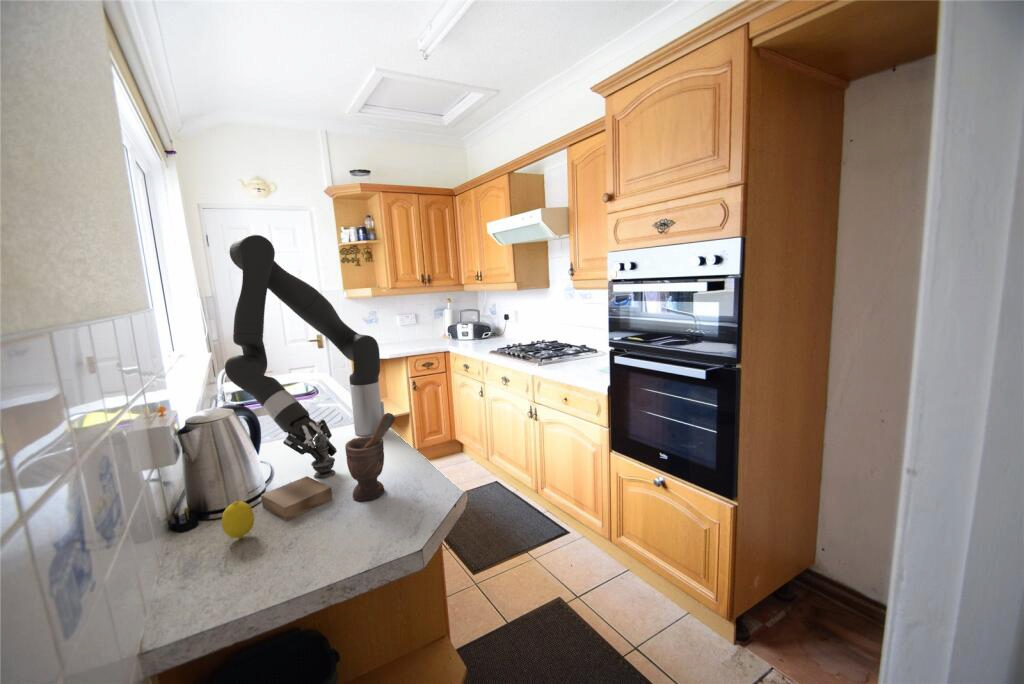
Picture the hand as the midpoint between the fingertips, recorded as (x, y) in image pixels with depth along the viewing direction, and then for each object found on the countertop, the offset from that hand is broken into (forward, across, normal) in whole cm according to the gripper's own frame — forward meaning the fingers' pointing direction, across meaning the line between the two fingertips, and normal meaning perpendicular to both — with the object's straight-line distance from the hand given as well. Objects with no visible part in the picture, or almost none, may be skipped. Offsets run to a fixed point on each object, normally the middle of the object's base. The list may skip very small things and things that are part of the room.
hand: (328, 456), depth 117 cm
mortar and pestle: (+17, -6, -9) cm, 20 cm away
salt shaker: (+2, 0, +5) cm, 6 cm away
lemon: (+5, -29, +3) cm, 29 cm away
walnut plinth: (+5, -14, +2) cm, 15 cm away
